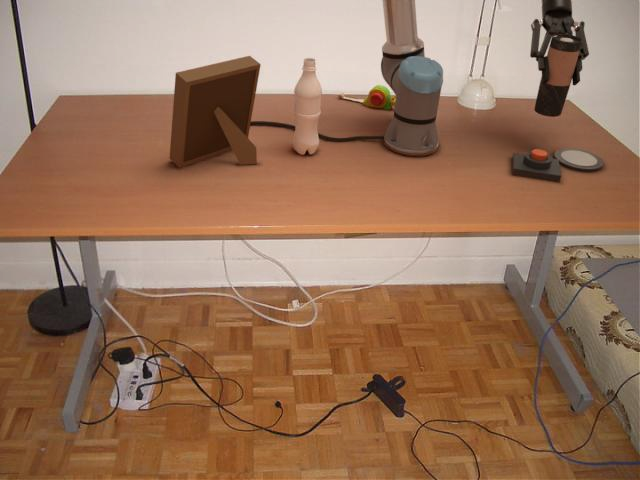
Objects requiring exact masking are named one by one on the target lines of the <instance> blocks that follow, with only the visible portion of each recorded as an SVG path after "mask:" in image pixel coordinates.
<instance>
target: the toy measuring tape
mask: <svg viewBox="0 0 640 480" xmlns="http://www.w3.org/2000/svg"><path fill="white" fill-rule="evenodd" d="M338 98H339V99H340V100H341V99H344V100H349V101H353V102H359V103H361V104H362V105H363V106H366V107H371V108H375V109H382V110H386V111H390V110H391V109H392V108H393V107H395V100H396V95H393V96H392V97H391V91H390V90H389V88H388V87H386V86H385V85H382V84H378V85H377V84H376V85H375V86H374V87H372V88H371V89H370V91H368V95H367V97H366V98H365V99H364V98H362V99H361V98H352V97H347V96H346V94H345V93H344V92H341V93H340V94H339V95H338Z"/></svg>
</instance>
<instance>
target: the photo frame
mask: <svg viewBox="0 0 640 480" xmlns="http://www.w3.org/2000/svg"><path fill="white" fill-rule="evenodd" d="M260 70H261V63H260V62H259V61H258V60H256V59H255V58H254V57H252V56H251V55H247V56H242V57H238V58H234V59H229V60H225V61H221V62H220V61H219V62H216V63H211V64H208V65H203V66H199V67H193V68H191V69H185V70H182V71H181V70H180V71H177V72H175V77H174V78H175V79H174V89H173V90H174V91H173V103H172V104H173V106H172V118H171V132H170V147H169V160H171V162H172V163H174V164H175V166H177V167H178V168H179V169H180V168H183V167H187V166H190V165H192V164H195V163H198V162H201V161H204V160H207V159H211V158H213V157H216V156H220V155H223V154H225V153H228V152H231V151H233V154H234V155H235V158H236V160H237V162H238V164H239V165H240V166H241V165H242V166H243V165H256V164H258V158H257V154H258V153H257V146H256V145H255V144H254V143H253V142H252V141H251V140H250V138H249V136H250V135H249V134H250V130H251V129H250V128H251V125H250V124H251V121H252V117H253V112H254V106H255V100H256V95H257V88H258V83H259V76H260Z"/></svg>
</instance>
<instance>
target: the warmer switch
mask: <svg viewBox="0 0 640 480" xmlns="http://www.w3.org/2000/svg"><path fill="white" fill-rule="evenodd" d="M531 153H532V150H530V151H527V152H525V153H518V152H513V153H512V157H511V176H515V177H521V178H528V179H535V180H541V181H548V182H552V183H553V182H554V183H560V181H561V178H562V174H561V173H562V172H561V165H560V164H559V160H558V159H554V158H553V157H552V156H550V155H549V154H547V158H546V160H545V161H537V160H534V159H532V158H531Z"/></svg>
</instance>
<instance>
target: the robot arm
mask: <svg viewBox="0 0 640 480" xmlns="http://www.w3.org/2000/svg"><path fill="white" fill-rule="evenodd" d="M382 9H383V19H384V28H385V30H384V31H385V39H386V42H385V43H384V44H383V45H382V46H381V52H382V57H381V61H380V72H381V76H382V79H383V80H384V81H385V83H386V84H387V85H388V86H389V87H390V89H391V90H392V92H393V93H394V94H395V95H394V96H395V97H396V98H395V99H396V100H395V106H394V109H393V116H392V117H391V118H392V119H391V121H390V122H389V124H388V127H387V129H386V131H385V133H384V135H358V136H357V135H356V136H349V137H333V136H328V135H324V134H322V133H319V132H318V137H319V139H323V140H325V141H333V142H350V141H357V140H383V145H384V147H385V148H386V149H388V150H389V151H391V152H393V153H396V154H398V155H401V156H406V157H427V156H431V155H433V154H434V153H436V152H437V151H438V149H439V143H440V140H439V133H438V129H437V122H436V121H437V115H438V109H439V105H440V98H441V92H442V88H443V83H444V68H443V67H442V64H440V63H439V62H438V61H436V60H435V59H431V58H430V57H426V55H425V44H424V41H423V40H422V39H421V38H420V37H419V36H418V35H419V34H418V23H417V10H416V0H382ZM541 18H542V19H538V18H535V19H533V21H532V23H531V24H530V28H531V31H532V35H531V42H530V44H531V45H530V53H529V57H530V58H532V59H534V58H535V61H536V62H537V69H538V71H539V72H541V77H542V84H546V83H547V82H548V81H549V64H548V56H547V55H546V53H547V52H548V49H549V46H550V43H551V39H552V36H553V37H555V36H558V35H559V34H568V35H573V36H576V37H579V38H581V39H582V44H581V47H580V51H579V55H578V59H577V62H576V66H575V70H574V73H573V77H572V81H571V83H572V86H576V85H578V84H579V83H580V82H581V74H580V73H581V72H582V70H583V61H584V60H586V58H587V57H589V55H590V51H589V47H588V43H587V37H586V33H585V21H584V20H582V21H580V22H578V21H575V20H574V18H573V2H572V0H541ZM541 28H543V29H544V30H545V33H544V38H543V41H542V44H541V46H540V37H541ZM572 28H573V30H572ZM573 31H574V32H575V34H573V33H574V32H573ZM251 125H252V126H253V125H261V126H263V125H264V126H267V125H268V126H275V127H276V126H277V127H283V128H288V129H292V130H295V127H296V125H293V124H289V123H285V122H277V121H266V120H251V124H250V126H251Z"/></svg>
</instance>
